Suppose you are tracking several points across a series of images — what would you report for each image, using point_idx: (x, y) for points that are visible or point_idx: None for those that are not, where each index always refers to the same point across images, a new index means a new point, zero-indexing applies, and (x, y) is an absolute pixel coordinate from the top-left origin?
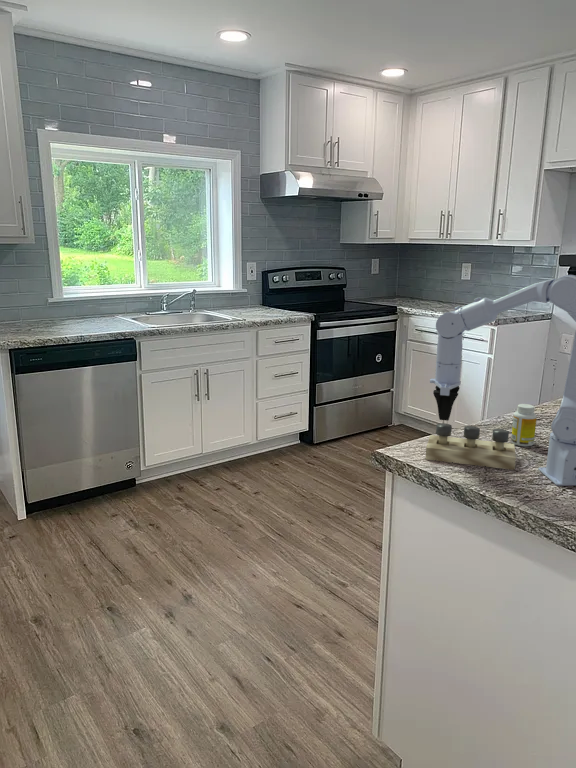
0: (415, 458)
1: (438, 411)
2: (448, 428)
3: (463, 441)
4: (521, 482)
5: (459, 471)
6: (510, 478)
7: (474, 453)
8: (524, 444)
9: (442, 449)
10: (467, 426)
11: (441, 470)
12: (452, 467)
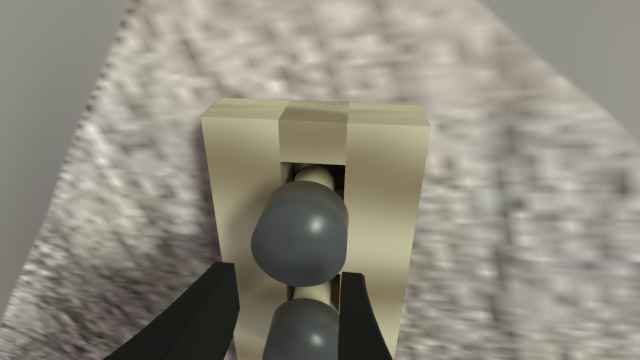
0: (215, 49)
1: (174, 302)
2: (263, 267)
3: (362, 271)
4: None
5: (159, 221)
6: None
7: None
8: None
9: (212, 190)
10: (324, 349)
11: (133, 164)
12: (185, 200)
